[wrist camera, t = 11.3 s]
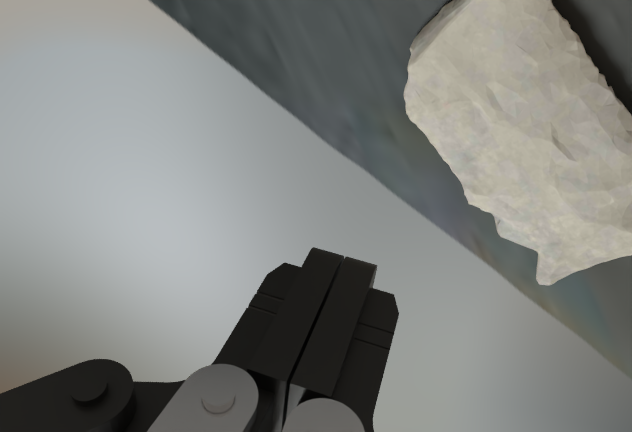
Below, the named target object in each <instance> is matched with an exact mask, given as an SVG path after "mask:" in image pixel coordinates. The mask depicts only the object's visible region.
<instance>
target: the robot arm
mask: <svg viewBox="0 0 632 432" xmlns="http://www.w3.org/2000/svg"><path fill="white" fill-rule="evenodd" d="M376 270H377V265H374V264H371V263H367V262H364V261H360V260H356V259H353V258H349V257H345V259H344V256H342V255H339V254H335V253H332V252H328V251H325V250H321V249H317V248H312V249H311V250H310V252H309V254H308V256H307V258H306V260H305V261H304V264H303V265H302V267H298V266H295V265H291V264H288V263H283V264H282V265H280V266H279V267H277V268H276V269H275V270H273V271H272V272H270V273H269V274H267V276H266V277H265V279H264V281H263V283H262V284H261V286H260V287H259V289H258V290H257V294H255V295H254V297H253V299H252V300H251V302H250V304H249V307H248V308H246V310H245V312H244V313H243V315H242V317H241V318H240V320H239V322H238V323H237V325H236V327H235V328H234V330H233V331H232V333H231V335H230V336H229V338H228V340H227V341H226V343H225V345H224V346H223V348H222V349H221V351H220V353H219V354H218V356H217V358H216V359H215V361H214V362H213V363H212V364H211V365H209V366H206V367H203V368H201V369H199V370H197V371H196V372H194V373H193V374H192V375H190V376H189V377H188V378H187V379H186V380H183V381H179V382H170V383H164V382H133V380H132V376H131V374H130V372H129V371H128V370H127V369H126V368H125V367H124V366H123V365H122V364H120V363H118V362H115V361H112V360H108V359H94V360H89V361H85V362H82V363H79V364H76V365H74V366H71V367H69V368H66V369H63V370H61V371H58V372H55V373H53V374H50V375H48V376H45V377H42V378H40V379H37V380H35V381H32V382H30V383H27V384H24V385H22V386H19V387H17V388H14V389H11V390H9V391H6V392H4V393H1V394H0V432H374V430H373V413H374V409H375V405H376V401H377V397H378V393H379V389H380V385H381V381H382V378H383V374H384V370H385V366H386V362H387V358H388V354H389V350H390V346H391V343H392V339H393V335H394V331H395V327H396V323H397V319H398V315H399V312H398V308H397V305H396V301H395V297H394V295H393V294H390V293H387V292H384V291H380V290H377V289H373V283H374V279H375V275H376Z"/></svg>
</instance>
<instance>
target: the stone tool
mask: <svg viewBox="0 0 632 432" xmlns="http://www.w3.org/2000/svg"><path fill="white" fill-rule="evenodd" d="M570 26H571V25H570V24H569V23H568V21H567V20H566V19H564V18H563V17H562V16H561V15H560V14H559V12H558V11H557V10H556V8H555V7H554V6H553V3H552V0H453V1H451V2H450V3H448V4H447V5H445V6H444V7H443V8H442V9H441V10H440V12H439V13H438V15H437V16H435V17H434V18H433V19H432V20H431V21H430V22H429V23H428V24H427V25H426V26H425V27H424V28H423V29H422V30H421V31H420V33H419V34H418V35H417V36H416V37H415V39H414V40H413V43H412V45H411V47H410V51H411V57H410V60H409V64H408V81H407V84H406V86H405V90H404V99H405V102H406V113H407V114H408V116H409V119H410V120H411V121H412V122H413V123H415V124H416V125H417V126H418V128H419V129H420V130H422V131H423V132H424V133H425V135H426V136H427V138H428V139H429V141H430V143H431V144H432V145H433V146H434V147H435V148H436V150H437V151H438V153H439V154H440V155H441V156H442V158H443V160H444V161H445V162H446V163H447V164H449V166H450V168H451V170H452V172H453V173H454V174H455V175H456V176H457V177H458V179H459V180H460V182H461V183H462V186H463V188H464V192H465V193H464V194H465V196H466V197H467V200H468V203H469V204H471V205H474V206H476V207H479V208H480V209H481V210H483V211H486V212H490V213H492V215H493V216H494V217H495V222H496V227H497V232H498V234H499V235H500V236H501V237H503V238H506V239H508V240H511V241H513V242H515V243H518V244H520V245H523V246H525V247H528V248H531V249H533V250H535V251H537V252H538V264H537V275H536V279H537V281H538V282H539V284H542V285H551V284H553V283H555V282H556V281H557V280H560V279H562V278H564V277H565V276H568V275H569V274H571V273H574V272H577V271H579V270H583V269H586V268H589V267H591V266H593V265H596V264H599V263H602V262H606V261H609V260H612V259H616V258H619V257H624V256H630V255H632V116H631V114H630V113H629V112H628V110H627V109H626V107H624V105H623V103H622V102H621V101H620V100H619V99H618V98H616V96H615V94H614V91H613V89H612V86H611V87H608V86H607V83H606V80H605V76H603V75H602V74H600V73H599V70H598V68H597V67H595V66H594V64H593V62H592V61H591V57H590V56H588V55H587V54H586V52H585V49H584V46H583V44H582V43H581V40H580V38H579V36H578V35H577V33H575V32H573V31H572V30H571V29H570Z"/></svg>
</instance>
